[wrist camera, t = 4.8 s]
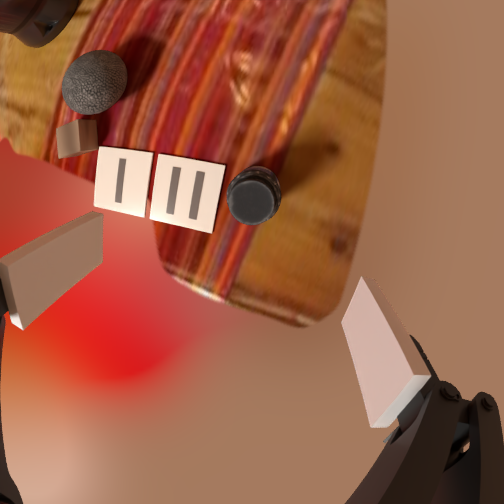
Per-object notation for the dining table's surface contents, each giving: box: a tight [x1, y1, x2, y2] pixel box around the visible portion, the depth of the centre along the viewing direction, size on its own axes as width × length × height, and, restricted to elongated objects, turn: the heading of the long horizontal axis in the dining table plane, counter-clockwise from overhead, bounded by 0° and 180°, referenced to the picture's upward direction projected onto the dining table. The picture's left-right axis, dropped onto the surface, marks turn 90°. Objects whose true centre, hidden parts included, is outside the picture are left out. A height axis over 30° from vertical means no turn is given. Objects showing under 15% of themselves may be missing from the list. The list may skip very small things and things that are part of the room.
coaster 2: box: [150, 154, 226, 233], centre depth 38 cm, size 10×10×1 cm
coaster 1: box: [94, 146, 154, 217], centre depth 38 cm, size 10×10×1 cm
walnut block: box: [56, 119, 99, 159], centre depth 34 cm, size 5×5×5 cm
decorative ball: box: [62, 50, 127, 115], centre depth 28 cm, size 10×10×10 cm
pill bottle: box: [227, 166, 281, 225], centre depth 32 cm, size 6×6×11 cm
